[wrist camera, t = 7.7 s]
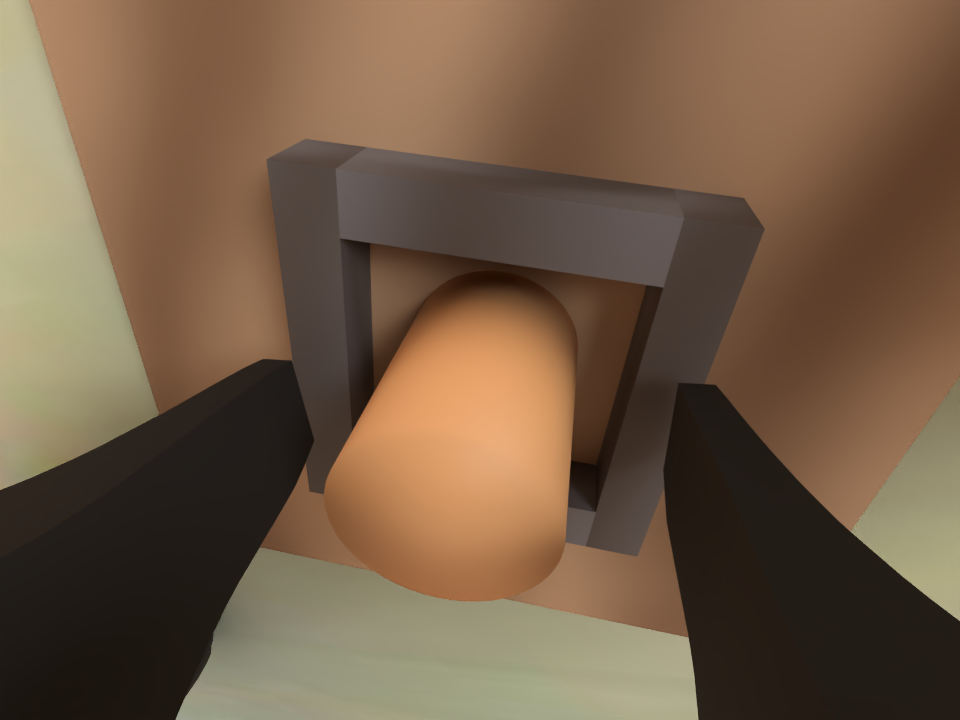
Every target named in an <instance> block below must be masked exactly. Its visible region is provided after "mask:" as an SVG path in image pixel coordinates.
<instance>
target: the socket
mask: <svg viewBox="0 0 960 720" xmlns="http://www.w3.org/2000/svg"><path fill="white" fill-rule="evenodd" d="M29 1H30V5H31V8H32V11H33V14H34V17H35V20H36V24H37V27H38V30H39V33H40V36H41V40H42V43H43V46H44V49H45V52H46V55H47V59H48V62H49V65H50V68H51V71H52V75H53V78H54V81H55V84H56V87H57V90H58V94H59V97H60V100H61V103H62V106H63V110H64V113H65V116H66V119H67V122H68V125H69V129H70V132H71V135H72V138H73V141H74V144H75V148H76V151H77V154H78V157H79V160H80V164H81V167H82V170H83V173H84V176H85V179H86V183H87V186H88V189H89V192H90V195H91V199H92V202H93V205H94V208H95V211H96V214H97V218H98V221H99V224H100V227H101V230H102V234H103V237H104V240H105V243H106V246H107V249H108V253H109V256H110V259H111V262H112V265H113V268H114V272H115V275H116V278H117V281H118V284H119V288H120V291H121V294H122V297H123V300H124V303H125V307H126V310H127V313H128V316H129V319H130V323H131V326H132V329H133V332H134V335H135V338H136V342H137V345H138V348H139V351H140V354H141V358H142V361H143V364H144V367H145V370H146V373H147V377H148V380H149V383H150V386H151V389H152V393H153V396H154V399H155V402H156V405H157V408H158V412H159V415H161V414H162V413H164V412H166V411H168V410H169V409H171V408H173V407H175V406H177V405H178V404H180V403H182V402H184V401H185V400H187V399H189V398H191V397H192V396H194V395H196V394H198V393H200V392H201V391H203V390H205V389H207V388H208V387H210V386H212V385H214V384H215V383H217V382H219V381H221V380H223V379H224V378H226V377H228V376H230V375H232V374H234V373H235V372H237V371H239V370H241V369H243V368H245V367H247V366H249V365H251V364H253V363H255V362H257V361H260V360H262V359H275V360H292V363H293V367H294V370H295V374H296V377H297V381H298V384H299V388H300V391H301V395H302V398H303V402H304V405H305V409H306V412H307V416H308V420H309V423H310V427H311V430H312V434H313V437H314V443H313V445H312V448H311V450H310V453H309V456H308V458H307V461H306V463H305V466H304V468H303V470H302V473H301V475H300V477H299V479H298V482H297V484H296V486H295V488H294V490H293V491H292V493H291V495H290V497H289V498H288V500H287V502H286V504H285V505H284V507H283V509H282V510H281V512H280V514H279V516H278V517H277V519H276V521H275V522H274V524H273V526H272V527H271V529H270V531H269V532H268V534H267V536H266V538H265V539H264V541H263V543H262V544H261V546H260V547H262V548H267V549H272V550H276V551H281V552H286V553H291V554H295V555H300V556H305V557H310V558H314V559H319V560H324V561H329V562H333V563H338V564H343V565H348V566H352V567H357V568H362V569H367V570H371V571H373V570H372V569H370V568H369V567H368V566H366V565H365V564H364V563H362V562H361V561H360V560H359V559H358V558H357V557H356V556H354V555H353V554H352V553H351V552H350V551H349V550H348V548H347V547H346V546H345V545H344V544H343V543H342V541H341V540H340V539H339V537H338V536H337V534H336V533H335V531H334V529H333V527H332V525H331V524H330V521H329V518H328V516H327V513H326V508H325V503H324V490H325V484H326V480H327V477H328V475H329V472H330V470H331V468H332V467H333V465H334V463H335V461H336V460H337V458H338V456H339V454H340V452H341V451H342V449H343V447H344V445H345V443H346V442H347V440H348V438H349V436H350V434H351V433H352V431H353V429H354V427H355V425H356V424H357V422H358V420H359V418H360V417H361V415H362V413H363V411H364V409H365V408H366V406H367V404H368V402H369V400H370V399H371V397H372V395H373V393H374V391H375V390H376V388H377V386H378V384H379V383H380V381H381V379H382V377H383V375H384V374H385V372H386V370H387V368H388V366H389V365H390V363H391V361H392V359H393V357H394V356H395V354H396V352H397V350H398V348H399V347H400V345H401V343H402V341H403V340H404V338H405V336H406V334H407V332H408V331H409V329H410V327H411V325H412V323H413V322H414V320H415V318H416V316H417V314H418V313H419V311H420V309H421V307H422V306H423V304H424V302H425V301H426V299H427V298H428V297H429V296H430V295H431V293H432V292H433V291H434V290H436V289H437V288H438V287H439V286H440V285H442V284H443V283H445V282H447V281H448V280H450V279H452V278H454V277H457V276H459V275H462V274H466V273H469V272H475V271H486V270H494V271H504V272H508V273H513V274H517V275H520V276H522V277H525V278H528V279H530V280H532V281H534V282H536V283H537V284H539V285H541V286H542V287H544V288H545V289H547V290H548V291H549V292H550V293H551V294H553V295H554V296H555V297H556V298H557V299H558V300H559V302H560V303H561V304H562V305H563V306H564V308H565V309H566V311H567V312H568V314H569V316H570V318H571V320H572V322H573V324H574V327H575V330H576V334H577V340H578V357H577V372H576V387H575V403H574V418H573V433H572V448H571V464H570V479H569V494H568V510H567V525H566V540H565V546H564V552H563V554H562V557H561V560H560V562H559V563H558V565H557V566H556V568H555V570H554V571H553V572H552V573H551V574H550V575H549V576H548V577H547V578H546V579H545V580H543V581H542V582H541V583H540V584H538V585H537V586H535V587H533V588H531V589H529V590H528V591H525V592H523V593H520V594H518V595H514V596H511V597H507V598H504V599H509V600H514V601H518V602H523V603H528V604H533V605H537V606H542V607H547V608H552V609H556V610H561V611H566V612H570V613H575V614H580V615H585V616H589V617H594V618H599V619H604V620H608V621H613V622H618V623H623V624H627V625H632V626H637V627H642V628H646V629H651V630H656V631H661V632H665V633H670V634H675V635H680V636H684V637H688V631H687V626H686V621H685V616H684V611H683V606H682V600H681V595H680V590H679V585H678V580H677V574H676V569H675V564H674V559H673V553H672V548H671V543H670V537H669V532H668V526H667V520H666V506H665V491H664V474H663V468H664V462H665V457H666V451H667V445H668V439H669V434H670V428H671V422H672V416H673V411H674V405H675V399H676V393H677V388H678V383H695V384H712V385H717V387H718V388H719V389H720V390H721V391H722V392H723V394H724V395H725V396H726V397H727V398H728V400H729V401H730V402H731V403H732V404H733V406H734V407H735V408H736V409H737V411H738V412H739V413H740V414H741V416H742V417H743V418H744V419H745V420H746V422H747V423H748V424H749V425H750V426H751V428H752V429H753V430H754V431H755V432H756V434H757V435H758V436H759V437H760V438H761V439H762V441H763V442H764V443H765V444H766V445H767V446H768V448H769V449H770V450H771V451H772V452H773V453H774V454H775V455H776V457H777V458H778V459H779V460H780V461H781V462H782V463H783V464H784V465H785V466H786V468H787V469H788V470H789V471H790V472H791V473H792V474H793V475H794V476H795V477H796V479H797V480H798V481H799V482H800V483H801V484H802V485H803V486H804V487H805V488H806V489H807V490H808V491H809V492H810V493H811V494H812V495H813V496H814V497H815V498H816V499H817V500H818V501H819V502H820V503H821V504H822V505H823V506H824V507H825V508H826V509H827V510H828V511H829V512H830V513H831V514H832V515H833V516H834V517H835V518H836V519H837V520H838V521H839V522H840V523H842V524H843V525H844V526H845V527H846V528H847V529H848V530H849V531H851V529H852V528H853V527H854V525H855V524H856V522H857V521H858V520H859V518H860V517H861V515H862V514H863V512H864V511H865V510H866V508H867V507H868V505H869V504H870V503H871V501H872V500H873V498H874V497H875V495H876V494H877V493H878V491H879V490H880V488H881V487H882V486H883V484H884V483H885V481H886V480H887V478H888V477H889V476H890V474H891V473H892V471H893V470H894V469H895V467H896V466H897V464H898V463H899V461H900V460H901V459H902V457H903V456H904V454H905V453H906V452H907V450H908V449H909V447H910V446H911V444H912V443H913V442H914V440H915V439H916V437H917V436H918V435H919V433H920V432H921V430H922V429H923V427H924V426H925V425H926V423H927V422H928V420H929V419H930V418H931V416H932V415H933V413H934V412H935V410H936V409H937V408H938V406H939V405H940V403H941V402H942V401H943V399H944V398H945V396H946V395H947V393H948V392H949V391H950V389H951V388H952V386H953V385H954V384H955V382H956V381H957V379H958V378H959V376H960V0H29Z"/></svg>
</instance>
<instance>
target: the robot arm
mask: <svg viewBox="0 0 960 720" xmlns="http://www.w3.org/2000/svg"><path fill="white" fill-rule="evenodd" d="M313 443H314V437H313V434H312V430H311V427H310V423H309V420H308V416H307V412H306V409H305V405H304V402H303V398H302V395H301V391H300V388H299V384H298V381H297V377H296V374H295V370H294V367H293V363H292V360H275V359H262V360H260V361H257V362H255V363H253V364H251V365H249V366H247V367H245V368H243V369H241V370H239V371H237V372H235V373H234V374H232V375H230V376H228V377H226V378H224V379H223V380H221V381H219V382H217V383H215V384H214V385H212V386H210V387H208V388H207V389H205V390H203V391H201V392H200V393H198V394H196V395H194V396H192V397H191V398H189V399H187V400H185V401H184V402H182V403H180V404H178V405H177V406H175V407H173V408H171V409H169V410H168V411H166V412H164V413H162V414H161V415H159V416H157V417H155V418H153V419H151V420H149V421H147V422H145V423H144V424H142V425H140V426H138V427H136V428H134V429H132V430H130V431H128V432H126V433H125V434H123V435H121V436H119V437H117V438H115V439H113V440H111V441H109V442H107V443H106V444H104V445H102V446H100V447H98V448H96V449H94V450H92V451H89V452H87V453H85V454H83V455H81V456H79V457H77V458H75V459H73V460H70V461H68V462H66V463H64V464H62V465H59V466H57V467H55V468H53V469H50V470H48V471H46V472H43V473H41V474H39V475H37V476H34V477H32V478H30V479H27V480H25V481H23V482H20V483H18V484H15V485H13V486H10V487H7V488H5V489H2V490H0V720H176V717H177V714H178V712H179V710H180V707H181V705H182V703H183V700H184V698H185V696H186V693H187V691H188V689H189V686H190V684H191V682H192V679H193V677H194V675H195V672H196V670H197V668H198V665H199V663H200V661H201V658H202V656H203V654H204V652H205V650H206V648H207V645H208V643H209V641H210V639H211V637H212V635H213V633H214V630H215V628H216V626H217V624H218V622H219V620H220V618H221V615H222V613H223V611H224V609H225V607H226V605H227V603H228V601H229V599H230V598H231V596H232V594H233V592H234V590H235V588H236V587H237V585H238V583H239V581H240V580H241V578H242V576H243V574H244V573H245V571H246V569H247V568H248V566H249V564H250V563H251V561H252V559H253V558H254V556H255V554H256V553H257V551H258V549H259V548H260V546H261V544H262V543H263V541H264V539H265V538H266V536H267V534H268V532H269V531H270V529H271V527H272V526H273V524H274V522H275V521H276V519H277V517H278V516H279V514H280V512H281V510H282V509H283V507H284V505H285V504H286V502H287V500H288V498H289V497H290V495H291V493H292V491H293V490H294V488H295V486H296V484H297V482H298V479H299V477H300V475H301V473H302V470H303V468H304V466H305V463H306V461H307V458H308V456H309V453H310V450H311V448H312V445H313ZM663 474H664V491H665V506H666V520H667V526H668V532H669V537H670V543H671V548H672V553H673V559H674V564H675V569H676V574H677V580H678V585H679V590H680V595H681V600H682V606H683V611H684V616H685V621H686V626H687V631H688V637H689V642H690V648H691V655H692V661H693V668H694V675H695V686H696V697H697V707H698V718H699V720H960V621H959V620H957V619H956V618H955V617H953V616H952V615H951V614H950V613H948V612H947V611H946V610H944V609H943V608H942V607H940V606H939V605H938V604H936V603H935V602H934V601H932V600H931V599H930V598H928V597H927V596H926V595H925V594H923V593H922V592H921V591H920V590H918V589H917V588H916V587H915V586H913V585H912V584H911V583H910V582H908V581H907V580H906V579H905V578H903V577H902V576H901V575H900V574H899V573H898V572H896V571H895V570H894V569H893V568H892V567H891V566H889V565H888V564H887V563H886V562H885V561H884V560H882V559H881V558H880V557H879V556H878V555H877V554H875V553H874V552H873V551H872V550H871V549H870V548H868V547H867V546H866V545H865V544H864V543H863V542H861V541H860V540H859V539H858V538H857V537H856V536H855V535H854V534H852V533H851V532H850V531H849V530H848V529H847V528H846V527H845V526H844V525H843V524H842V523H840V522H839V521H838V520H837V519H836V518H835V517H834V516H833V515H832V514H831V513H830V512H829V511H828V510H827V509H826V508H825V507H824V506H823V505H822V504H821V503H820V502H819V501H818V500H817V499H816V498H815V497H814V496H813V495H812V494H811V493H810V492H809V491H808V490H807V489H806V488H805V487H804V486H803V485H802V484H801V483H800V482H799V481H798V480H797V479H796V477H795V476H794V475H793V474H792V473H791V472H790V471H789V470H788V469H787V468H786V466H785V465H784V464H783V463H782V462H781V461H780V460H779V459H778V458H777V457H776V455H775V454H774V453H773V452H772V451H771V450H770V449H769V448H768V446H767V445H766V444H765V443H764V442H763V441H762V439H761V438H760V437H759V436H758V435H757V434H756V432H755V431H754V430H753V429H752V428H751V426H750V425H749V424H748V423H747V422H746V420H745V419H744V418H743V417H742V416H741V414H740V413H739V412H738V411H737V409H736V408H735V407H734V406H733V404H732V403H731V402H730V401H729V400H728V398H727V397H726V396H725V395H724V394H723V392H722V391H721V390H720V389H719V388H718V387H717V385H712V384H695V383H678V388H677V393H676V399H675V405H674V411H673V416H672V422H671V428H670V434H669V439H668V445H667V451H666V457H665V462H664V468H663Z"/></svg>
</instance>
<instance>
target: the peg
mask: <svg viewBox="0 0 960 720" xmlns="http://www.w3.org/2000/svg"><path fill="white" fill-rule="evenodd" d="M577 357H578V340H577V334H576V330H575V327H574V324H573V322H572V320H571V318H570V316H569V314H568V312H567V311H566V309H565V308H564V306H563V305H562V304H561V303H560V302H559V300H558V299H557V298H556V297H555V296H554V295H553V294H551V293H550V292H549V291H548V290H547V289H545V288H544V287H542V286H541V285H539V284H537V283H536V282H534V281H532V280H530V279H528V278H525V277H522V276H520V275H517V274H513V273H508V272H504V271H494V270H486V271H475V272H469V273H466V274H462V275H459V276H457V277H454V278H452V279H450V280H448V281H447V282H445V283H443V284H442V285H440V286H439V287H438V288H437V289H436V290H434V291H433V292H432V293H431V295H430V296H429V297H428V298H427V299H426V301H425V302H424V304H423V306H422V307H421V309H420V311H419V313H418V314H417V316H416V318H415V320H414V322H413V323H412V325H411V327H410V329H409V331H408V332H407V334H406V336H405V338H404V340H403V341H402V343H401V345H400V347H399V348H398V350H397V352H396V354H395V356H394V357H393V359H392V361H391V363H390V365H389V366H388V368H387V370H386V372H385V374H384V375H383V377H382V379H381V381H380V383H379V384H378V386H377V388H376V390H375V391H374V393H373V395H372V397H371V399H370V400H369V402H368V404H367V406H366V408H365V409H364V411H363V413H362V415H361V417H360V418H359V420H358V422H357V424H356V425H355V427H354V429H353V431H352V433H351V434H350V436H349V438H348V440H347V442H346V443H345V445H344V447H343V449H342V451H341V452H340V454H339V456H338V458H337V460H336V461H335V463H334V465H333V467H332V468H331V470H330V472H329V475H328V477H327V480H326V484H325V490H324V503H325V508H326V513H327V516H328V518H329V521H330V524H331V525H332V527H333V529H334V531H335V533H336V534H337V536H338V537H339V539H340V540H341V541H342V543H343V544H344V545H345V546H346V547H347V548H348V550H349V551H350V552H351V553H352V554H353V555H354V556H356V557H357V558H358V559H359V560H360V561H361V562H362V563H364V564H365V565H366V566H368V567H369V568H370V569H372V570H373V571H375V572H376V573H378V574H380V575H381V576H383V577H384V578H386V579H388V580H390V581H392V582H394V583H396V584H398V585H401V586H403V587H405V588H408V589H410V590H413V591H416V592H419V593H422V594H426V595H430V596H434V597H438V598H444V599H449V600H458V601H490V600H497V599H503V598H507V597H511V596H514V595H518V594H520V593H523V592H525V591H528V590H529V589H531V588H533V587H535V586H537V585H538V584H540V583H541V582H542V581H543V580H545V579H546V578H547V577H548V576H549V575H550V574H551V573H552V572H553V571H554V570H555V568H556V566H557V565H558V563H559V562H560V560H561V557H562V554H563V552H564V546H565V540H566V525H567V510H568V494H569V479H570V464H571V448H572V433H573V418H574V403H575V387H576V372H577Z"/></svg>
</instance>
